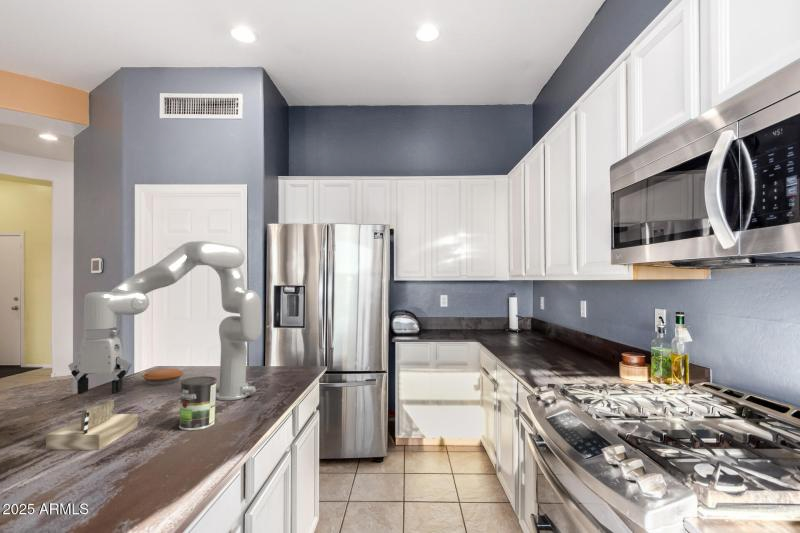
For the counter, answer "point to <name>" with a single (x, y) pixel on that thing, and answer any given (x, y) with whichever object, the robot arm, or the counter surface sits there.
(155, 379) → the pie
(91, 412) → the stone tablet
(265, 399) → the counter surface
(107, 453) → the counter surface
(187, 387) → the coffee can
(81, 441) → the birch block
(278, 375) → the counter surface
